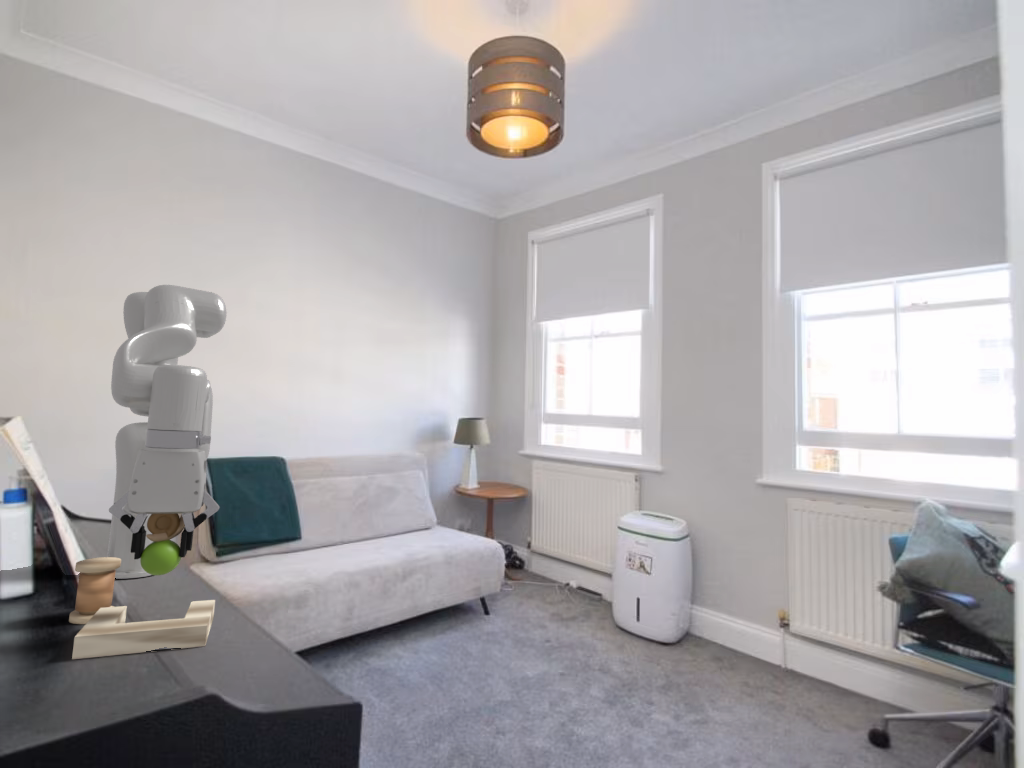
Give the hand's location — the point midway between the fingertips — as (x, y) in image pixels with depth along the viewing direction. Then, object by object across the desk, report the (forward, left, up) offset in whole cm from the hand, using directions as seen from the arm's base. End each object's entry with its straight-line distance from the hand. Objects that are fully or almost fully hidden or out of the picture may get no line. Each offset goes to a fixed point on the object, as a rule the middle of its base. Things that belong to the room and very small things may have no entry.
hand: (161, 555), depth 84 cm
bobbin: (-9, -10, -12) cm, 18 cm away
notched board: (+2, 0, -12) cm, 12 cm away
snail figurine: (0, 0, -3) cm, 3 cm away
